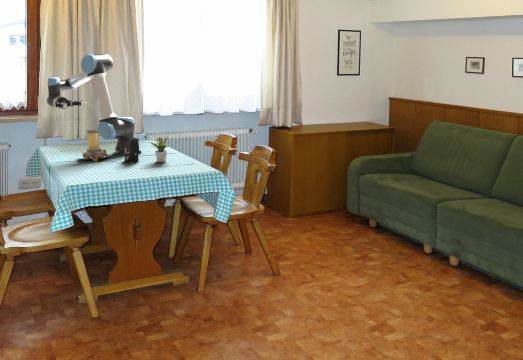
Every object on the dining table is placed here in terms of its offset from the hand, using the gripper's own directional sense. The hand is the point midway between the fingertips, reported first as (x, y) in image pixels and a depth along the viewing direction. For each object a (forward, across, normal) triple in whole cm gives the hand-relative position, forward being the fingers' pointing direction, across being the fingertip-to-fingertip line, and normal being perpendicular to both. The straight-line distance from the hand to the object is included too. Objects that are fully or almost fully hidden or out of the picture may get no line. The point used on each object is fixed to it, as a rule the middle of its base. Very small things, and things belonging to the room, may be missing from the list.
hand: (76, 105), depth 400 cm
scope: (+39, -16, -32) cm, 53 cm away
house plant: (+49, -30, -32) cm, 66 cm away
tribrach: (+17, -2, -32) cm, 36 cm away
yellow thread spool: (+17, -1, -27) cm, 32 cm away
